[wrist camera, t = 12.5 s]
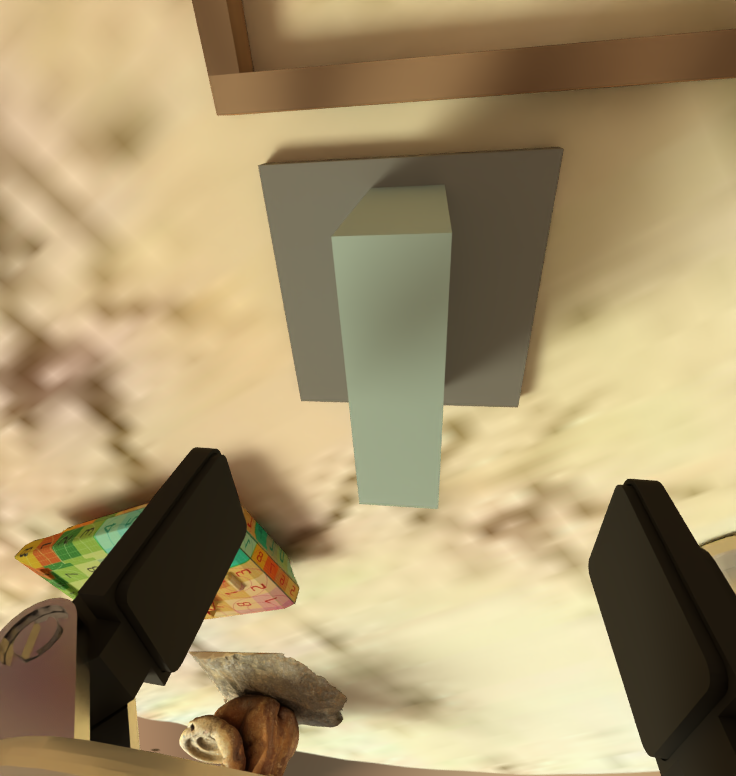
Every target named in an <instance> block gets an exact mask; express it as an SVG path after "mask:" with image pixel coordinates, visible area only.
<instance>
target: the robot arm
mask: <svg viewBox="0 0 736 776" xmlns="http://www.w3.org/2000/svg"><path fill="white" fill-rule="evenodd" d="M246 532H247V523H246V520H245V517H244V513H243V510H242V507H241V504H240V501H239V497H238V494H237V491H236V488H235V485H234V481H233V478H232V475H231V472H230V469H229V465H228V462H227V459H226V457H225V456H224V455H221V453H220V451H219V450H218V449H212V448H198V447H196V448H193V449H192V450H191V451H190V452H189V453H188V455H187V456H186V457H185V458H184V460H183V461H182V462H181V463H180V465H179V466H178V467H177V468H176V470H175V471H174V472H173V473H172V475H171V476H170V477H169V478H168V480H167V481H166V482H165V483H164V485H163V486H162V487H161V488H160V490H159V491H158V492H157V493H156V495H155V496H154V497H153V498H152V500H151V501H150V502H149V503H148V505H147V506H146V507H145V508H144V510H143V511H142V512H141V513H140V515H139V516H138V517H137V518H136V520H135V521H134V522H133V523H132V525H131V526H130V527H129V528H128V530H127V531H126V532H125V533H124V535H123V536H122V537H121V538H120V540H119V541H118V542H117V543H116V545H115V546H114V547H113V548H112V550H111V551H110V552H109V553H108V555H107V556H106V557H105V558H104V560H103V561H102V562H101V563H100V565H99V566H98V567H97V568H96V570H95V571H94V572H93V573H92V575H91V576H90V577H89V578H88V580H87V581H86V582H85V583H84V585H83V586H82V587H81V588H80V590H79V591H78V592H77V593H78V595H77V596H76V597H75V599H74V600H73V601H72V602H71V601H70V600H68V599H64V598H53V599H48V600H45V601H42V602H39V603H37V604H35V605H33V606H31V607H29V608H27V609H25V610H24V611H22V612H21V613H20V614H19V615H17V616H16V617H15V618H13V619H12V620H11V621H10V622H9V623H8V624H7V625H6V626H5V627H4V628H3V629H2V630H1V631H0V776H265V775H260V774H256V773H251V772H246V771H241V770H236V769H232V768H227V767H222V766H217V765H212V764H208V763H203V762H198V761H193V760H188V759H184V758H179V757H174V756H169V755H164V754H159V753H154V752H149V751H143V750H140V745H139V733H138V722H137V710H136V699H135V696H136V695H137V693H138V691H139V689H140V687H141V685H142V684H143V682H145V683H150V684H156V685H161V686H165V684H166V682H167V680H168V678H169V676H170V674H171V672H175V671H177V670H178V669H179V667H180V666H181V664H182V663H183V661H184V659H185V657H186V655H187V653H188V651H189V649H190V647H191V645H192V643H193V641H194V639H195V636H196V634H197V632H198V630H199V628H200V626H201V624H202V622H203V620H204V618H205V616H206V614H207V612H208V610H209V608H210V606H211V604H212V602H213V600H214V598H215V596H216V594H217V592H218V590H219V588H220V586H221V584H222V582H223V580H224V578H225V576H226V574H227V572H228V570H229V568H230V566H231V564H232V562H233V560H234V558H235V556H236V554H237V552H238V550H239V548H240V546H241V544H242V542H243V540H244V538H245V536H246ZM588 567H589V575H590V579H591V582H592V585H593V588H594V591H595V595H596V598H597V601H598V604H599V607H600V611H601V614H602V617H603V620H604V623H605V627H606V630H607V633H608V636H609V639H610V643H611V646H612V649H613V652H614V655H615V659H616V662H617V665H618V668H619V671H620V675H621V678H622V681H623V684H624V687H625V691H626V694H627V697H628V700H629V703H630V707H631V710H632V713H633V716H634V719H635V723H636V726H637V729H638V732H639V735H640V739H641V742H642V744H643V747H644V749H645V751H646V752H647V754H648V755H649V756H651V757H655V758H656V761H657V764H658V767H659V770H660V773H661V776H736V535H734V536H730V537H726V538H723V539H720V540H717V541H714V542H712V543H709V544H706V545H704V546H702V547H699V545H698V544H697V542H696V540H695V539H694V537H693V535H692V533H691V532H690V530H689V528H688V527H687V525H686V523H685V522H684V520H683V518H682V517H681V515H680V513H679V512H678V510H677V508H676V507H675V505H674V503H673V502H672V500H671V498H670V497H669V495H668V493H667V491H666V490H665V488H664V486H663V485H662V484H661V483H660V482H658V481H652V480H639V479H627V480H626V481H625V483H624V484H623V485H617V486H616V488H615V490H614V493H613V495H612V498H611V501H610V504H609V506H608V509H607V512H606V515H605V517H604V520H603V523H602V526H601V528H600V531H599V534H598V536H597V539H596V542H595V545H594V547H593V550H592V553H591V556H590V558H589V564H588Z"/></svg>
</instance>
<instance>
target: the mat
mask: <svg viewBox="0 0 736 776" xmlns="http://www.w3.org/2000/svg"><path fill="white" fill-rule="evenodd" d="M563 150H564V149H563V148H560V147H552V148H534V149H516V150H498V151H480V152H462V153H444V154H426V155H408V156H390V157H373V158H355V159H337V160H319V161H301V162H283V163H265V164H262V165H258V167H259V172H260V178H261V183H262V189H263V194H264V200H265V205H266V211H267V216H268V222H269V227H270V233H271V238H272V244H273V249H274V255H275V260H276V266H277V271H278V277H279V282H280V288H281V293H282V299H283V304H284V310H285V315H286V321H287V326H288V332H289V337H290V343H291V348H292V354H293V359H294V365H295V370H296V376H297V381H298V386H299V392H300V397H301V401H320V402H349V400H348V390H347V381H346V372H345V362H344V353H343V343H342V334H341V324H340V315H339V305H338V296H337V286H336V277H335V268H334V258H333V249H332V239H331V236H332V235H333V234H334V233H335V231H336V230H337V229H338V228H339V226H340V225H341V224H342V223H343V222H344V220H345V219H346V218H347V217H348V215H349V214H350V213H351V212H352V211H353V209H354V208H355V207H356V206H357V204H358V203H359V202H360V201H361V199H362V198H363V197H364V196H365V195H366V193H367V192H368V191H369V190H370V188H381V187H403V186H424V185H445V190H446V197H447V203H448V210H449V216H450V223H451V230H452V243H451V262H450V282H449V302H448V322H447V342H446V362H445V381H444V401H443V405H455V406H488V407H518V404H519V398H520V393H521V387H522V381H523V376H524V370H525V365H526V359H527V353H528V348H529V342H530V336H531V331H532V325H533V319H534V314H535V308H536V302H537V297H538V291H539V285H540V280H541V274H542V268H543V263H544V257H545V251H546V246H547V240H548V235H549V229H550V223H551V218H552V212H553V206H554V201H555V195H556V189H557V184H558V178H559V172H560V167H561V161H562V155H563Z"/></svg>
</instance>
